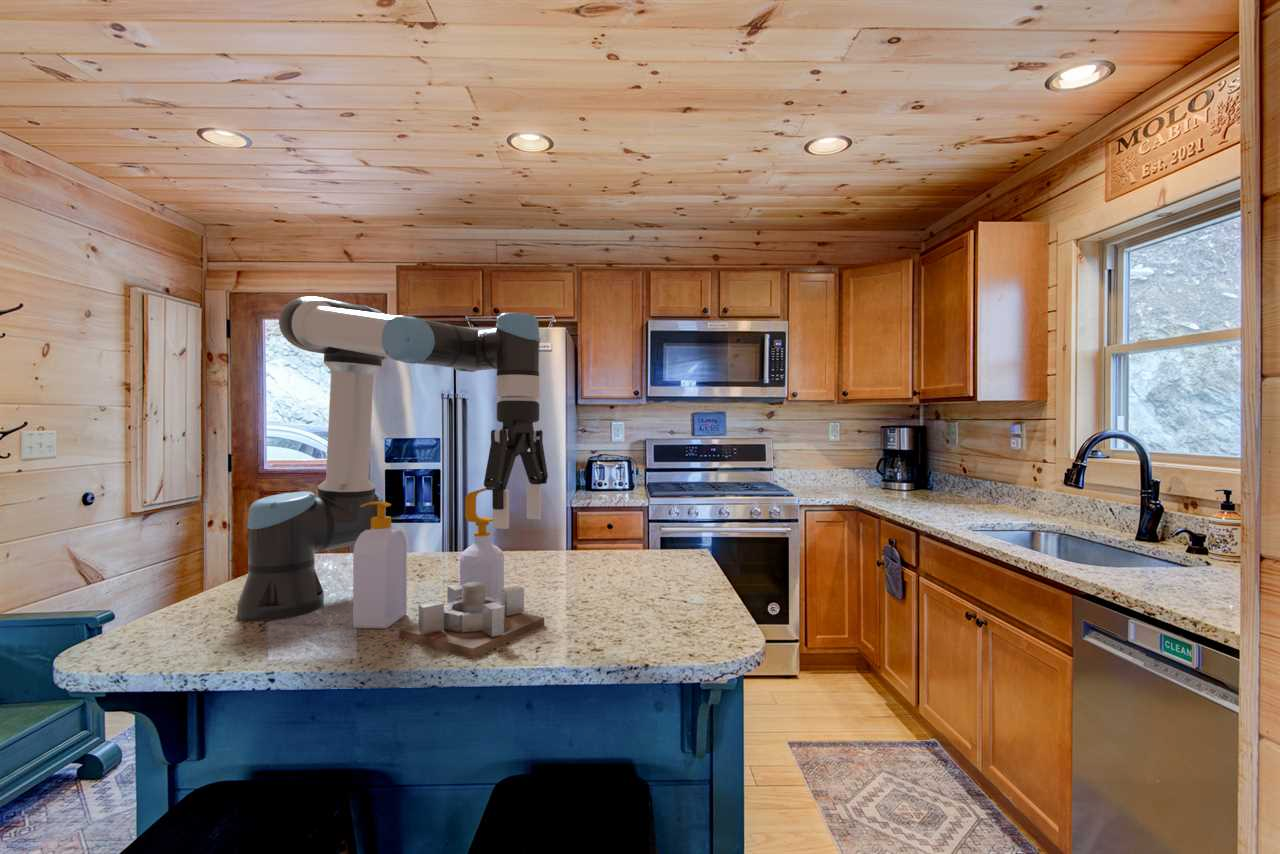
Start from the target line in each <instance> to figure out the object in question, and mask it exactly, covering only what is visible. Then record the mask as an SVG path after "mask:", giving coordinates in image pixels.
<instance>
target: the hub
mask: <svg viewBox="0 0 1280 854" xmlns="http://www.w3.org/2000/svg"><path fill="white" fill-rule="evenodd" d="M483 604H485V583H483V582H470V583H466V584H464V585H463V593H462V612H463V613H467V612H480V611H483ZM544 626H545V617H544V616H540V615H535V614H529V613H524V612H522V613H517V614H513V615H508V616H506V615H505V622H504V634H501V635H497V636H493V637H491V636H490V635H488V634H487V633H485V632H483V630H479V631H467V632H462V631H459V632H457V631H453V630H449V629H445V628H444V630H442V631H437V632H433V633H428V634H424V635H423V634H422V633H420V632H419V622H416V623H414V624H412V625H408V626H405V627H403V628H400V629H398V638H399V639H402V640H405V641H408V642H412V643H416V644H420V645H422V646H423V645H424V646H428V647H431V648H433V649H434V648H435V649H438V650H442V651H446V652H449V653H453V654H457V655H460V656H464V657H468V658H472V659H474V658H476V657H477V656H480V655H482V654H484V653H486V652H489V651H491V650H493V649H496V648H498V647H500V646H502V645H504V644H506V643H509V642H511V641H513V640H515V639H517V638H520V637H523V636H524V635H526V634H528V633H530V632H531V633H532V632H533V631H535V630H537V629H540V628H542V627H544Z"/></svg>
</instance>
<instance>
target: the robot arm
mask: <svg viewBox="0 0 1280 854" xmlns="http://www.w3.org/2000/svg"><path fill="white" fill-rule="evenodd" d="M538 320H539V319H538V318H537V317H536V316H534V315H533V314H531V313H530V314H529V313H525V312H515V311H513V312H503V313H501V314H498V316H497V317H496V324H495V327H494V328H492V327H491V328H485V329H474V328H468V327H463V326H457V325H454V324H449V323H442V322H438V321H433V320H428V319H423V318H421V317H416V316H410V315H392V314H391V315H390V314H385V313H384V312H382V311H381V310H379V309H377V308H376V309H375V308H372V307H370V306H367V305H362V304H356V303H351V302H345V301H340V300H334V299H329V298H324V297H320V296H300V297H297V298H294V299H292V300H290V301H288V302H287V303H286V304H285V305H284V306H283V308H282V309H281V310H280V313H279V316H278V325H279V330H280V333H281V334H282V336H283V337H284V339H285V340H286V341H287V342H289V343H290V345H292V346H295V347H296V348H298V349H300V350H303V351H307V352H308V353H309V352H310V353H317V354H323V364H324V365H325V366H326V367H327V368H328V369H329V371H330V383H329V384H330V387H329V388H330V389H329V407H328V408H329V409H328V426H327V427H328V428H327V429H328V431H327V432H328V433H327V449H326V468H325V469H326V473H325V479H324V480H323V481H322V482H321V483H320V484H319V485H318V486H317V496H315V493H313V492H312V491H305V490H304V491H294V492H284V493H278V494H273V495H268V496H265V497H263V498H260V499H257V500H255V501H254V502H252V503H251V505H250V507H249V509H248V518H247V523H246V526H247V555H248V556H247V562H248V563H247V566H248V567H247V569H248V570H247V577H246V580H245V582H244V585H243V588H242V591H241V594H240V596H239V598H238V601H237V606H236V607H237V609H236V611H237V617H238V618H239V619H242V620H248V621H268V620H269V621H270V620H279V619H287V618H293V617H296V616H301V615H305V614H308V613H312V612H314V611H316V610H318V609H319V608H320V609H321V608H322V607H323V606H324V603H325V593H324V590H323V587H322V584H321V581H320V579H319V576H318V573H317V570H316V567H315V556H316V555H315V554H316V553H317V552H322V551H326V550H333V549H339V548H344V547H354V546H355V543H356V540H357V538H358V537H359V535H360V534H361V533H362V532H363V531H365V530H370V529H371V518H372V517H377V504H369V505H366V506H364V507H361V505H363V504H365V503H369V502H376V501H382V502H384V498H383V497H382V496H381V494H379V493H377V492H376V485H375V484H374V483H372V481H370V479H369V477H370V476H369V475H370V474H369V473H370V455H371V454H370V453H371V434H372V417H373V416H372V414H373V413H372V412H373V395H374V393H373V392H374V375H375V373H377V372H378V371H379V370H380V369H381V368H382V366H383V363H382V362H383V361H384V360H387V359H388V358H390V359H391V360H394V361H397V362H401V363H406V364H415V365H416V364H418V365H430V366H439V367H445V368H452V369H454V370H455V371H458V372H469V373H474V372H477V371H487V370H488V371H489V370H496V381H497V382H496V398H498V399H500V400H499V401H497V403H496V421H497V422H499V423H502V427H501V429H492V430H491V432H490V447H489V453H488V459H487V463H486V468H485V469H486V470H485V474H484V480H483V487H484V488H486V489H487V490H486V491H491V492H492V493H491V494H492V499H491V501H492V504H491V505H492V518H493V521H492V528H493V529H499V530H500V529H502V530H508V529H510V490H509V489H507V486H508V482H509V479H510V477H511V473H512V471H513V467H514V463H515V460H516V458H517V457H518V456H520V458H521V462H522V463H523V467H524V470H525V474H526V476H527V480H528V482H529V483H527V484H525V485H526V488H525V489H526V520H542V484H543V485H545V484H547V481H548V478H549V477H548V476H549V475H548V469H547V468H548V467H547V463H546V461H547V460H546V457H545V450H544V443H543V437H544V435H543V433H544V432H543V430H542V429H534V426H533V425H534V423H538V422H539V420H540V403H539V402H538V401H537V400H538V399H539V398H540V372H539V371H540V365H539V364H540V341H541V338H540V330H539V329H540V328H539V327H540V326H539V321H538ZM386 512H387V510H386V508H385V516H387V515H386Z"/></svg>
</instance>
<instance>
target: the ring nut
mask: <svg viewBox="0 0 1280 854" xmlns="http://www.w3.org/2000/svg"><path fill="white" fill-rule="evenodd" d="M446 589H447V590H446V591H447V598H446V600H447V602H446V603H444V602H443V601H440V600H437V601H430V602H426V603H419V604H418V623H419V632H420V633H422V634H423V635H424V634H428V633H433V632H437V631H442V630H444V628H445V629H449V630H453V631H457V632H459V631H462V632H467V631H479V630H483V632H485V633H487V634H488V635H490V636H491V637H493V636H497V635H501V634H504V622H505V615H506V616H508V615H513V614H517V613H524V612H525V588H524V587H523V586H520V585H514V586H510V587H504V588H503V589H501V599H496V598H491V597H486V598H485V604H483V611H480V612H467V613H463V612H462V593H463V586H461V585H460V583H456V584H451V585H447V588H446Z"/></svg>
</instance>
